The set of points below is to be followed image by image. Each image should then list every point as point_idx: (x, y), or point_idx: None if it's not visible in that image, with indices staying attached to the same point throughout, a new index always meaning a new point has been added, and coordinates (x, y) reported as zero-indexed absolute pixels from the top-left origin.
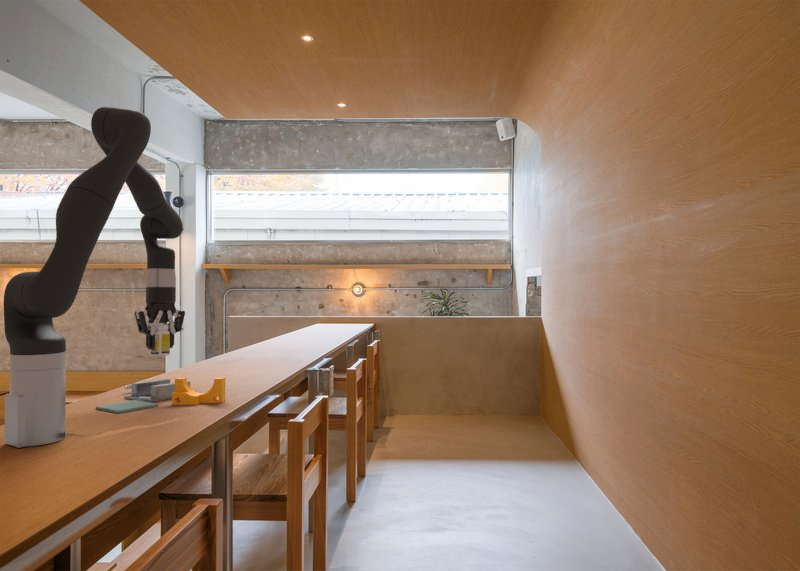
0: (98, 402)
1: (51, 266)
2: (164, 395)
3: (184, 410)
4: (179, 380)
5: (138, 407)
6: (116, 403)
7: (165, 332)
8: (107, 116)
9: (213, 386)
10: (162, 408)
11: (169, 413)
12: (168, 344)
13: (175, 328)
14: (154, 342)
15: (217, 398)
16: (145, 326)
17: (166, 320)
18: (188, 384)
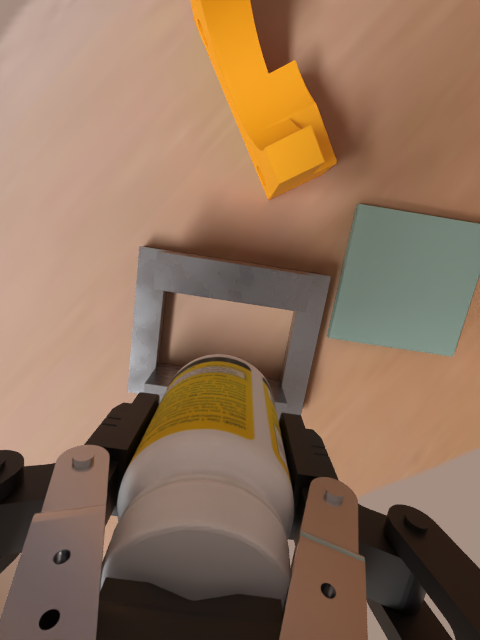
0: (362, 436)
1: None
2: (273, 267)
3: (385, 42)
4: (315, 140)
5: (427, 215)
6: (395, 341)
7: (214, 442)
8: None
9: None
10: (379, 157)
11: (444, 52)
12: (192, 383)
13: (23, 499)
14: (289, 436)
15: (207, 45)
16: (455, 574)
17: (119, 623)
18: (168, 252)
